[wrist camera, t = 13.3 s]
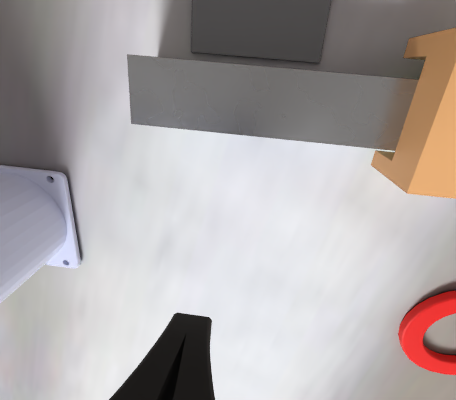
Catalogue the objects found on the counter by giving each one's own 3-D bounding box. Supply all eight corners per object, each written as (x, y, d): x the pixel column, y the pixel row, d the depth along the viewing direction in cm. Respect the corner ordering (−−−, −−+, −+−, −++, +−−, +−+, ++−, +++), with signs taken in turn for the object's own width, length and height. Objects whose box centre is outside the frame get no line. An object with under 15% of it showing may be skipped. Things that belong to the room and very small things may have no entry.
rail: (158, 137, 18) (114, 165, 12) (156, 28, 15) (100, 3, 10) (465, 169, 17) (564, 215, 11) (515, 57, 14) (673, 46, 9)
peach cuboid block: (371, 165, 15) (406, 193, 12) (409, 38, 13) (469, 24, 9) (447, 172, 15) (507, 204, 11) (500, 45, 13) (600, 34, 9)
